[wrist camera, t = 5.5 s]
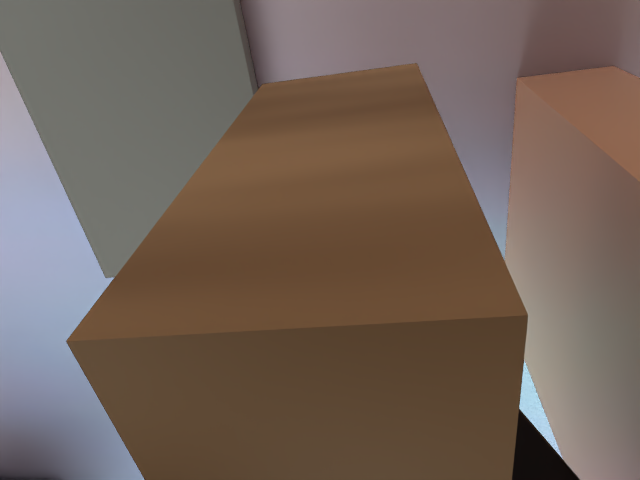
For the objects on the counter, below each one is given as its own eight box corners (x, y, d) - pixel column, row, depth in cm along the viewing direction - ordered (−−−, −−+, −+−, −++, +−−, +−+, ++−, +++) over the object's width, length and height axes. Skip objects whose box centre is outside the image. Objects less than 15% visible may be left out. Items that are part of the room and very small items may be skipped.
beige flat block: (580, 296, 15) (764, 593, 8) (502, 301, 15) (614, 589, 8) (620, 64, 11) (1013, 243, 4) (516, 77, 12) (734, 261, 5)
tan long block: (433, 456, 12) (478, 804, 7) (339, 456, 13) (321, 789, 8) (417, 63, 7) (528, 315, 2) (262, 83, 8) (65, 340, 3)
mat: (292, 253, 15) (289, 263, 14) (114, 267, 16) (105, 277, 15) (177, -299, 9) (165, -314, 8) (-106, -225, 9) (-132, -235, 9)
